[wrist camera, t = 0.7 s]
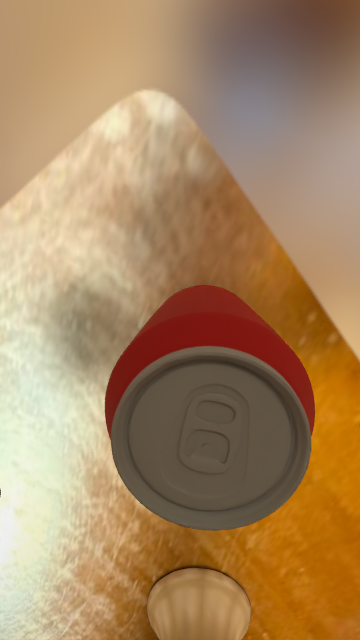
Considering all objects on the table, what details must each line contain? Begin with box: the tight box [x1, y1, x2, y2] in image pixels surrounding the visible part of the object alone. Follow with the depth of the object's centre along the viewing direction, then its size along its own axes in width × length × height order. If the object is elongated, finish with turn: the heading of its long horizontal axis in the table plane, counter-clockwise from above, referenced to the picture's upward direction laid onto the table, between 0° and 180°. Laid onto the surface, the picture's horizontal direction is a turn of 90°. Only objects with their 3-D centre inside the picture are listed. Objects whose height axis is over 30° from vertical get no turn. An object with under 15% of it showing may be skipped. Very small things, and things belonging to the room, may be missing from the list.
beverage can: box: [105, 285, 315, 531], centre depth 14 cm, size 7×7×12 cm
